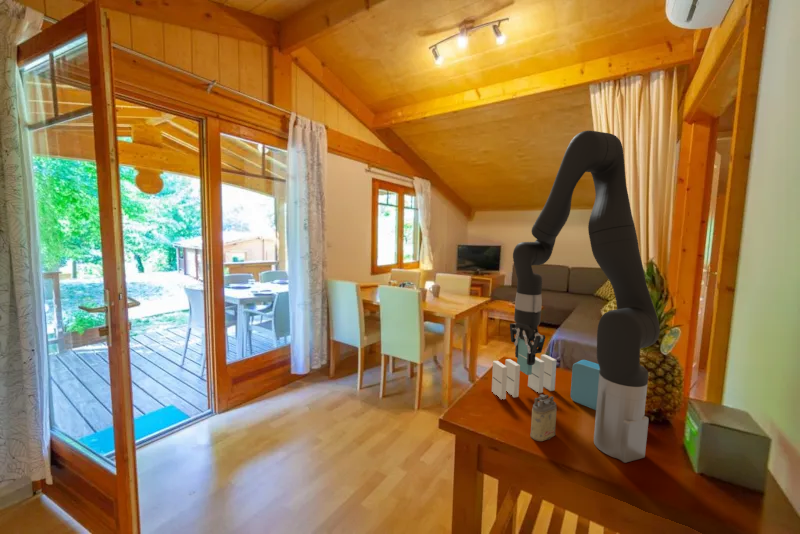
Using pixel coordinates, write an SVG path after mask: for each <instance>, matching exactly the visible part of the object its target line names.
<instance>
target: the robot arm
mask: <svg viewBox="0 0 800 534" xmlns="http://www.w3.org/2000/svg"><path fill="white" fill-rule="evenodd" d="M624 156H625V154H624V148H623V144H622V142H621V140H620V139H619V136H616V135H615V134H613V133H609V132H603V131H598V130H584V131H581V132H579V133H576V135H575V136H574V137H573V138H572V139H570V142H569V143H568V146H567V148H566V150H565V152H564V155H563V157H562V160H561V163H560V166H559V167H558V171H557V173H556V176H555V180H554V182H553V185H552V187H551V189H550V193H549V195H548V197H547V199H546V202H545V204H544V206H543V208H542V209H541V211H540V213H539V215H538V217H537V218H536V220H535V222H534V224H533V226H532V227H531V235H532V237H534V238H535V241H522V242H519V243H517V244H516V245H515V246H514V249H513V253H512V260H513V265H514V270H515V275H516V279H517V280H516V282H517V283H516V295H515V299H514V301H515V303H514V317H513V319H514V323H509V329H510V330H509V331H510V332H509V334H510V342H511V343H513V345H514V346H515V348H514V350H515V352H514V353H515V354H514V355H515V358H516V359H517V358H518V343H519V341H520V338H521V339H524V340H525V345H526V346H527V349H528V353H527V364H528V365H534V363H535V357H536V355H537V354H541V353H542V352H543V349H544V344H545V340H546V335H544V334H540V333H539V328H538V326H539V325H540V324H541V319H542V317H541V316H542V305H543V303H542V302H543V301H542V290H543V288H542V287H543V277H542V276H541V274H539V273H534V270H533V268H532V266H542V265H544V264H545V263H547V262H548V261H549V259H550V258H551V256H552V253H553V251H554V248H555V243H556V240H557V237H558V235H559V234H560V232H561V231H562V229H563V228H564V226H565V225H566V223H567V221H568V218H569V217H570V213H571V207H572V199H573V193H574V191H575V188H576V186H577V184H578V183H579V181H581V178H582V177H583V176H584V174H585V173H590V174H591V176H592V180H593V184H594V185H593V186H594V191H595V192H594V193H595V199H594V204H593V206H592V210H591V214H590V216H589V220H588V224H587V226H588V227H587V228H588V230H587V231H588V237H589V241H590V247H591V252H592V254H593V255H592V256H593V257H594V259H595V262H596V264H597V265H598V266H599V267H600V269H601V271H602V272H603V273H604V275H605V277H606V278H607V280H608V281H609V282H610V285H611V287H612V289H613V294H614V296H615V298H614V299H615V303H616V309H611V310H608V311H607V312H605V313H604V314H602V316H601V317H600V318H599V321H598V325H597V331H596V360H597V364H599V367H600V371H599V382H598V394H597V406H596V410H595V420H594V421H595V422H594V433H593V443H594V445H595V447H596V448H597V449H598V450H600V452H602V453H603V454H606V456H610V457H612V458H614V459H618V460H619V461H621V462H622V463H625V464H626V463H629V462H632V461H637V460H640V459H644V458H645V457H646V450H647V449H646V447H647V441H648V439H647V438H648V431H649V428H648V427H649V417H648V416H646V415H645V412H646V411H645V410H646V402H647V394H648V393H647V391H648V382H649V372H648V369H647V368H646V367H645V366H643V365H642V364H640V358H641V349H644V348H648V347H651V346H653V345H654V344H656V342H657V341H658V339H659V337H660V333H661V331H660V330H661V329H660V326H661V325H660V321H659V318H658V315H657V312H656V309H655V306H654V303H653V300H652V296H651V295H650V291H649V288H648V285H647V281H646V275H645V271H644V266H643V260H642V258H641V257H642V256H641V252H640V248H639V247H640V246H639V241H638V235H637V230H636V227H635V223H634V218H633V214H632V209H631V203H630V198H629V194H628V193H629V192H628V188H627V181H626V179H627V178H626V167H625V157H624ZM529 341H531V343H529ZM531 345H533V349H531Z"/></svg>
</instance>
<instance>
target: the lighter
mask: <svg viewBox="0 0 800 534" xmlns="http://www.w3.org/2000/svg"><path fill="white" fill-rule="evenodd" d="M554 399H555V397H554V396H549V394H539V396H538V397H535V398H534V403H533V404H532V409H531V422H530V423H531V424H530V425H531V426H530V438H531V439H532V440H534V441H537V442H543V441H546V440H551V438H553V437H554V436H556V423H557V422H556V421H557V408H558V407H557V403H556V402H555V401H554Z"/></svg>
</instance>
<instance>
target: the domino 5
mask: <svg viewBox="0 0 800 534" xmlns="http://www.w3.org/2000/svg"><path fill="white" fill-rule="evenodd" d="M540 359H541V360H542V361H544V362H545V366H544V382H543V388H544V389H546V390H548V391H549V392H553V391H555V389H556V375H557V374H556V373H557V372H556V371H557V359H555V358H553V357H551V356H550V355H547V354H540Z"/></svg>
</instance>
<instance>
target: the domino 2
mask: <svg viewBox="0 0 800 534" xmlns="http://www.w3.org/2000/svg"><path fill="white" fill-rule="evenodd" d="M504 365H505V366H507V383H506V391H507V392H508V395H510V396H511V395H512V396H511V397H512V398H518V397H519V392H520V375H521V374H520V373H521V371H520V365H519V364H517V361H514V360H512V359H511V358H507V359H505V362H504ZM507 392H506V393H507Z"/></svg>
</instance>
